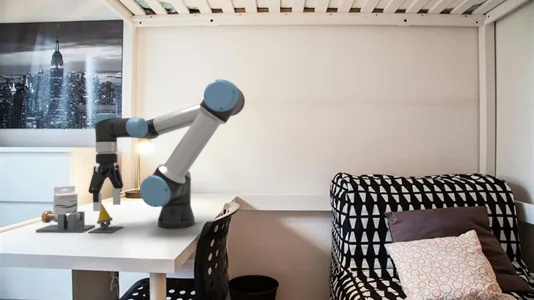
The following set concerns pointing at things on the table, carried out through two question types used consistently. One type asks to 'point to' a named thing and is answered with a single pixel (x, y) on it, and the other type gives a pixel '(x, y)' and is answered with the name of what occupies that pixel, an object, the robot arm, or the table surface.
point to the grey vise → (68, 224)
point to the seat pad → (108, 230)
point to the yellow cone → (104, 218)
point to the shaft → (56, 216)
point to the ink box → (65, 199)
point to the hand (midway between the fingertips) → (107, 207)
